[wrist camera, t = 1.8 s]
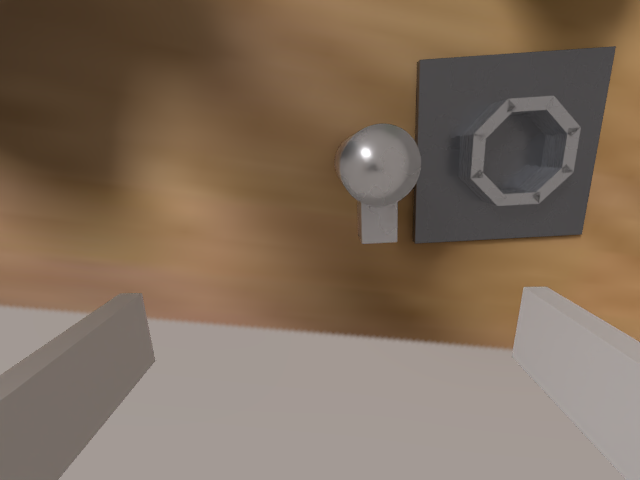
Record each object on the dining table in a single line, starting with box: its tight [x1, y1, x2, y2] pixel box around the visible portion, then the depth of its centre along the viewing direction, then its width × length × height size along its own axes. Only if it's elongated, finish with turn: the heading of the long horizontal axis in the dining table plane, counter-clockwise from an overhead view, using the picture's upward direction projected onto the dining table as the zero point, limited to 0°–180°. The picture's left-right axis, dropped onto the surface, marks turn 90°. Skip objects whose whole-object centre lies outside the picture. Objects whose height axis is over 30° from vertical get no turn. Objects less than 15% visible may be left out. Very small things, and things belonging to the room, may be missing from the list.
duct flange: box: [413, 46, 616, 243], centre depth 27 cm, size 16×16×3 cm
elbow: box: [334, 124, 421, 244], centre depth 24 cm, size 8×5×10 cm, turn 3°
